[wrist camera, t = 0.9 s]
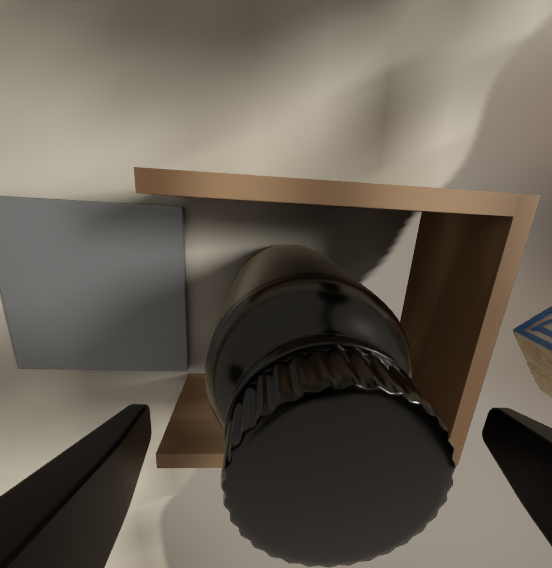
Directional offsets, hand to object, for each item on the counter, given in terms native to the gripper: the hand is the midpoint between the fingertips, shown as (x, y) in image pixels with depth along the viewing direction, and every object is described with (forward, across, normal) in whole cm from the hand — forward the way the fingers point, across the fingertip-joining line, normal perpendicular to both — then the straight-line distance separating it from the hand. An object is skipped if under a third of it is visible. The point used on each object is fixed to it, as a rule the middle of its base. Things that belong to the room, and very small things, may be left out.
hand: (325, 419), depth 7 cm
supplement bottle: (+10, 0, 0) cm, 10 cm away
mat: (+10, +11, 0) cm, 15 cm away
